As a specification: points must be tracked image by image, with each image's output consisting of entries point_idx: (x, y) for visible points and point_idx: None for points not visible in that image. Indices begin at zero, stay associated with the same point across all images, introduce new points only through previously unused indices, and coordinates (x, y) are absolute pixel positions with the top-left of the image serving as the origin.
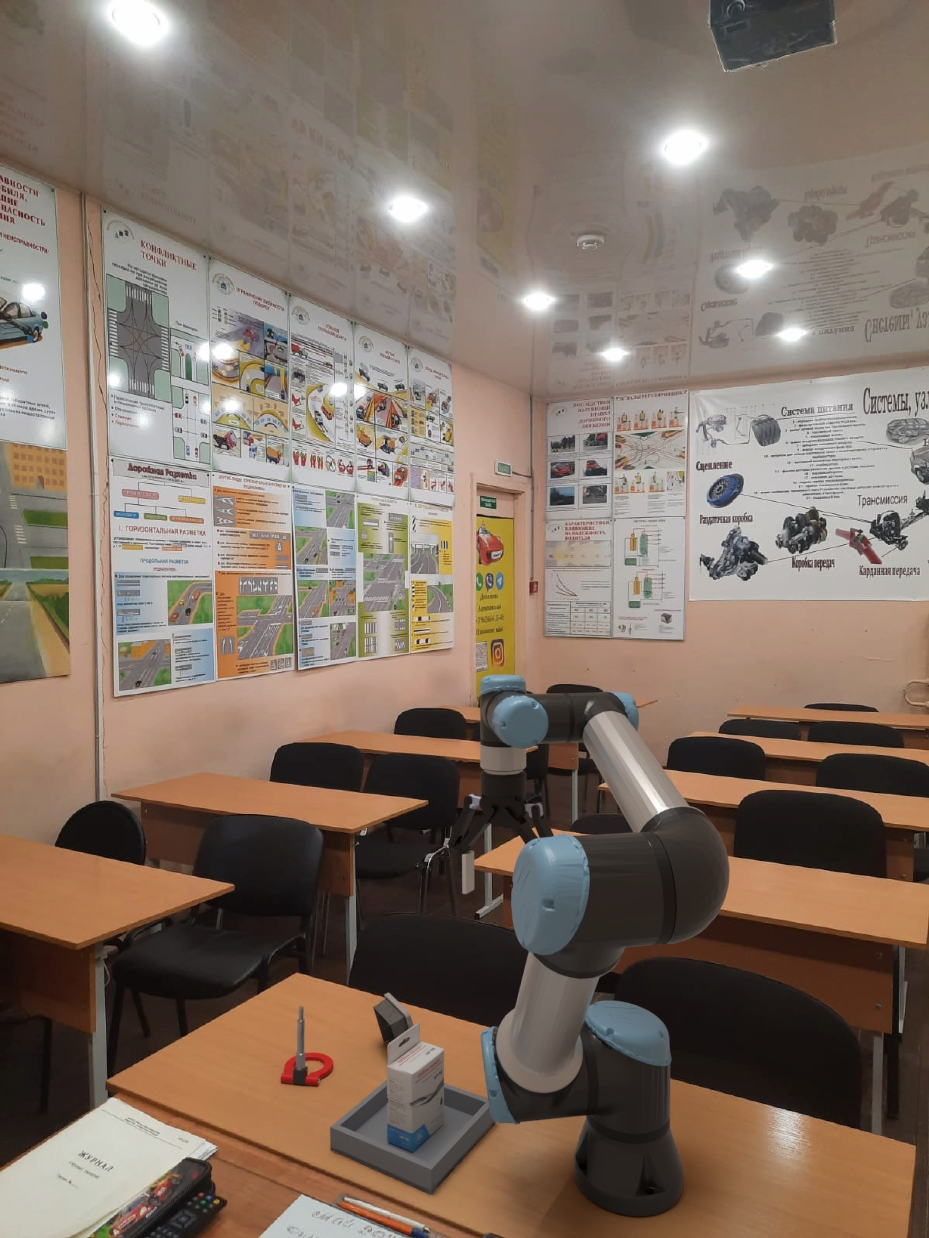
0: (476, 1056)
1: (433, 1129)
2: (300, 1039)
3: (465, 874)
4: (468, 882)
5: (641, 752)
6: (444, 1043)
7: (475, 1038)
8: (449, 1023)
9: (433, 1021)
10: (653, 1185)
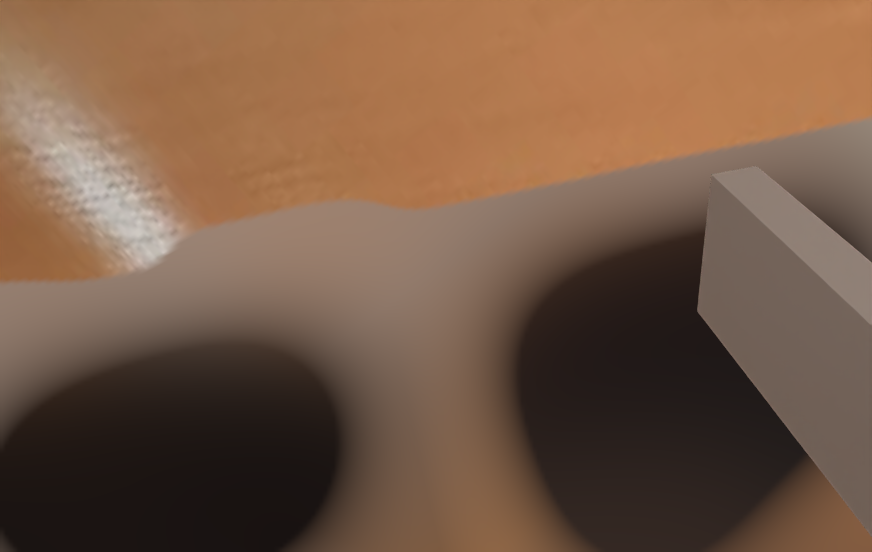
0: (489, 54)
1: None
2: None
3: (843, 289)
4: (761, 273)
5: None
6: (611, 46)
7: (546, 127)
8: (655, 140)
9: (703, 118)
10: None
